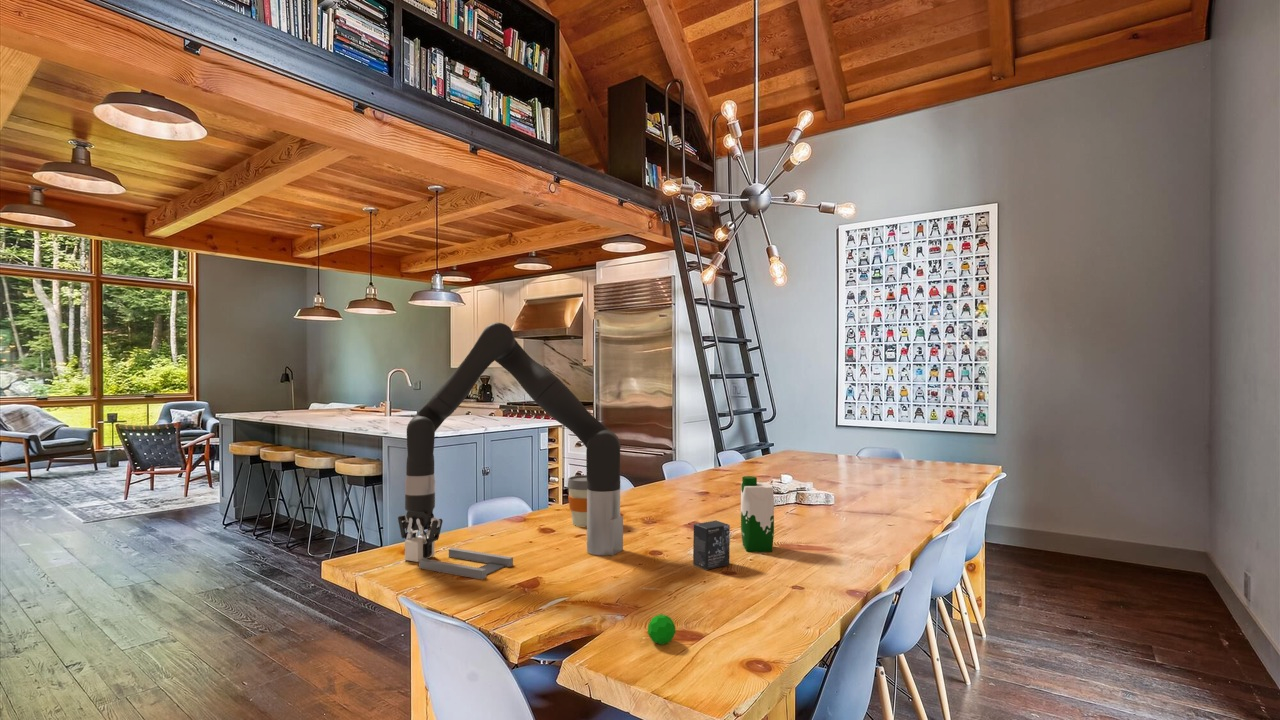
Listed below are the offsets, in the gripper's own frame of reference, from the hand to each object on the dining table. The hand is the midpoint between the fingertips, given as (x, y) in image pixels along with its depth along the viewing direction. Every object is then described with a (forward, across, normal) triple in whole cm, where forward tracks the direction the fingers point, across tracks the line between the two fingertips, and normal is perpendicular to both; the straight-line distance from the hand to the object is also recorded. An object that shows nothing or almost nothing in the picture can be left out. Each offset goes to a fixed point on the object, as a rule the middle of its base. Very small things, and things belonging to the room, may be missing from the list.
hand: (419, 555), depth 159 cm
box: (+1, -72, -28) cm, 77 cm away
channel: (+1, -16, 0) cm, 16 cm away
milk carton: (+1, -79, -48) cm, 92 cm away
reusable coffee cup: (+1, -21, -52) cm, 56 cm away
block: (+1, 0, 0) cm, 1 cm away
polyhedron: (+1, -78, +19) cm, 80 cm away
